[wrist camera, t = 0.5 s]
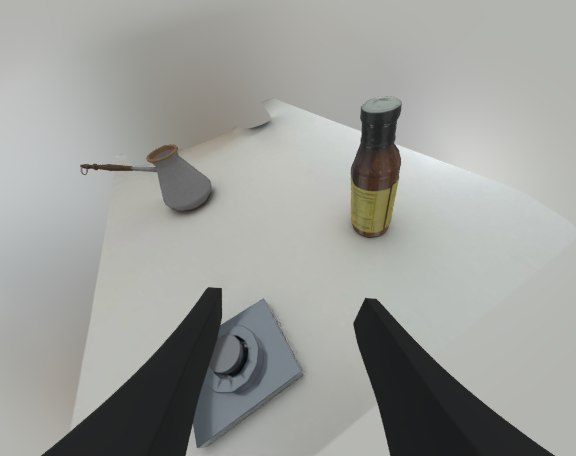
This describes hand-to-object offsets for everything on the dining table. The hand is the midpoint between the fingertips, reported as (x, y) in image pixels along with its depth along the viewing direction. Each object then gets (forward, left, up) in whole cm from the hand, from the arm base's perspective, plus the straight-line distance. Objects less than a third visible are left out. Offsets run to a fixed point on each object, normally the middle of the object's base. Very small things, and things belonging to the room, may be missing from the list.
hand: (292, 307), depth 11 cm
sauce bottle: (+21, -10, -19) cm, 30 cm away
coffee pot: (+35, +33, -19) cm, 52 cm away
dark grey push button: (+1, +10, -15) cm, 18 cm away
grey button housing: (+1, +10, -19) cm, 21 cm away
